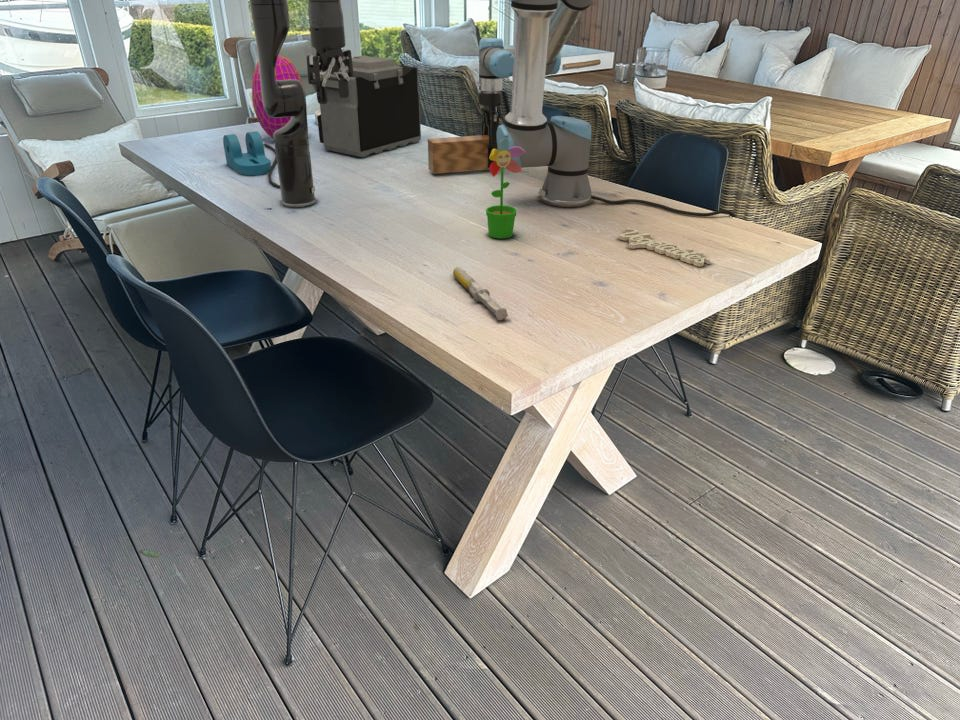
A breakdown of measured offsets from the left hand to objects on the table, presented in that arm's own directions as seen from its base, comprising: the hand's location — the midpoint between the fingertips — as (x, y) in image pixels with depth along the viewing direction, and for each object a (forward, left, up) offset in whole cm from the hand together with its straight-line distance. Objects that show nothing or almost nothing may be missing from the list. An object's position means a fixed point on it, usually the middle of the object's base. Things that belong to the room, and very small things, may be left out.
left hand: (333, 100), depth 161 cm
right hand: (-22, +69, -31) cm, 79 cm away
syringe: (+51, +1, -32) cm, 61 cm away
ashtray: (-118, +70, -32) cm, 141 cm away
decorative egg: (-103, +36, -32) cm, 114 cm away
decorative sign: (+59, +53, -32) cm, 86 cm away
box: (-25, +61, -31) cm, 73 cm away
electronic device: (-75, +56, -32) cm, 99 cm away
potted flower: (+27, +30, -32) cm, 52 cm away
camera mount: (-73, +8, -32) cm, 80 cm away
